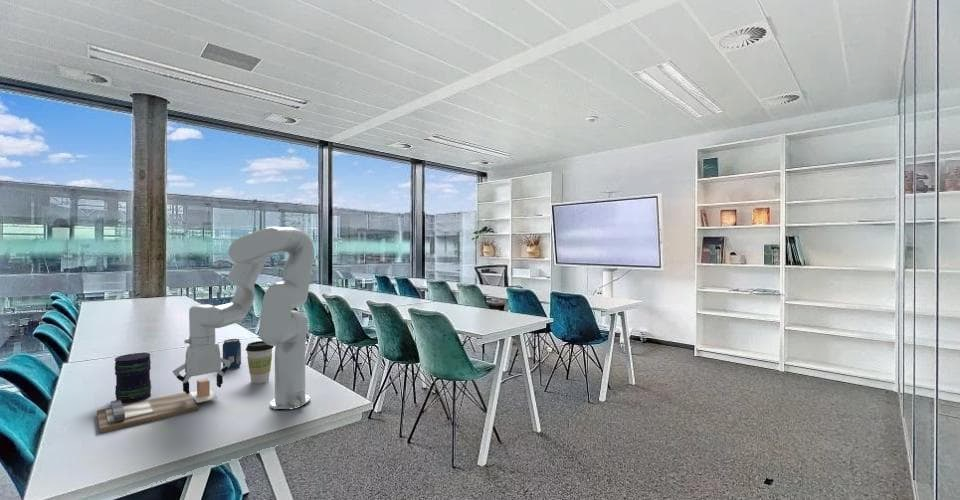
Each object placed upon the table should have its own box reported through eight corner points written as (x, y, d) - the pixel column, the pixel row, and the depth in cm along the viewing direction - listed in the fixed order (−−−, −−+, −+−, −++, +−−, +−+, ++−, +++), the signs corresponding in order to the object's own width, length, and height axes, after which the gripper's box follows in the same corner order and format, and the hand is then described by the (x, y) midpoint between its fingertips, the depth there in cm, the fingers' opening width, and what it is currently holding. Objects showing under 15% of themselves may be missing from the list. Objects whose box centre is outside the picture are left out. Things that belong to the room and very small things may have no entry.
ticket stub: (217, 398, 146) (217, 382, 146) (196, 402, 142) (196, 386, 142) (209, 389, 155) (209, 374, 155) (189, 393, 150) (189, 378, 150)
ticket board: (198, 410, 140) (197, 398, 139) (99, 433, 123) (99, 420, 123) (187, 395, 152) (186, 385, 152) (96, 415, 136) (96, 402, 136)
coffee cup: (253, 387, 162) (252, 347, 161) (241, 381, 168) (240, 344, 167) (278, 380, 169) (278, 342, 169) (266, 375, 175) (266, 339, 175)
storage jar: (156, 396, 152) (155, 355, 151) (122, 406, 143) (121, 361, 143) (143, 391, 157) (143, 351, 156) (110, 400, 148) (109, 357, 148)
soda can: (223, 366, 188) (223, 339, 188) (241, 364, 191) (241, 337, 191) (221, 370, 182) (221, 342, 182) (240, 368, 185) (240, 341, 185)
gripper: (174, 346, 139) (175, 399, 140) (233, 338, 151) (234, 386, 152) (170, 342, 144) (171, 393, 145) (227, 335, 157) (228, 381, 157)
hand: (203, 389), depth 148 cm, fingers open, 9 cm apart
